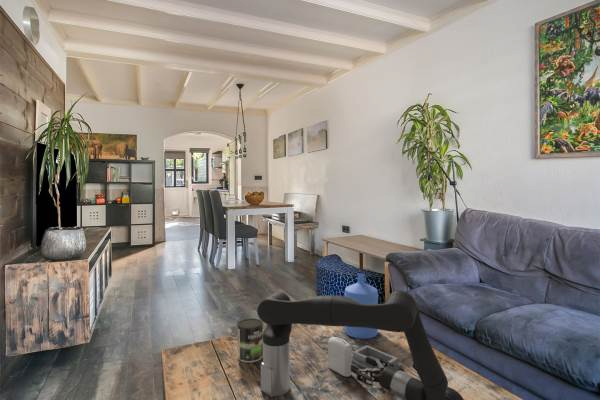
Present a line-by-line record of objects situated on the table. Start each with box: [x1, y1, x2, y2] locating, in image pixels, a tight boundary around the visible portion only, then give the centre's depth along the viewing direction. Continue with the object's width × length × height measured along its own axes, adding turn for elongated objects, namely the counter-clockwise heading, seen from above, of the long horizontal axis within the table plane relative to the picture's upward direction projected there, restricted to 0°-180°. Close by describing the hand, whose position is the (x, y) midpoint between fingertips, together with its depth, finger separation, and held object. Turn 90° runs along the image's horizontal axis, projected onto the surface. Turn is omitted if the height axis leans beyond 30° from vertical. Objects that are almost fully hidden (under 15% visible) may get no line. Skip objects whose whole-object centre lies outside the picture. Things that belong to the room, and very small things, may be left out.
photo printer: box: [327, 336, 353, 377], centre depth 135 cm, size 10×4×12 cm, turn 39°
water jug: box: [343, 273, 379, 340], centre depth 168 cm, size 16×16×28 cm
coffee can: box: [236, 318, 264, 364], centre depth 146 cm, size 10×10×14 cm
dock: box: [352, 345, 403, 370], centre depth 140 cm, size 12×17×4 cm
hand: (358, 363), depth 128 cm, fingers open, 8 cm apart
